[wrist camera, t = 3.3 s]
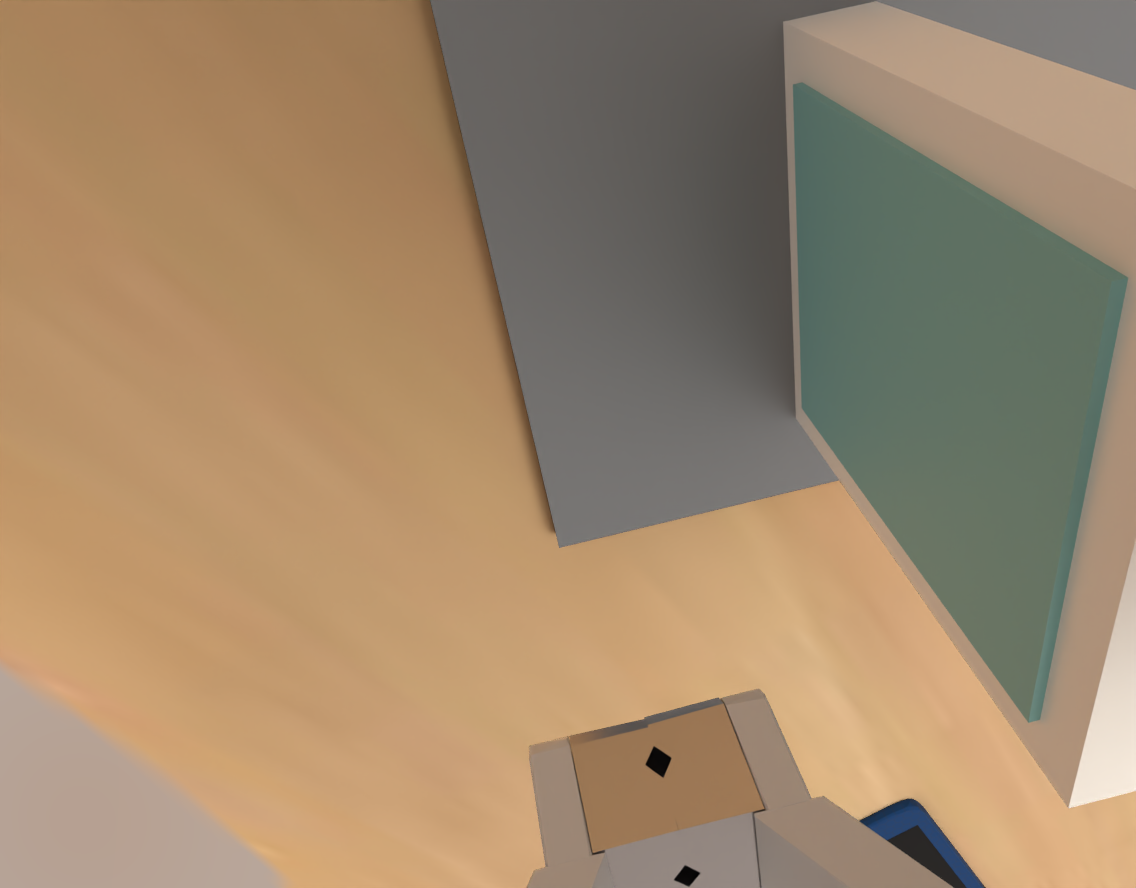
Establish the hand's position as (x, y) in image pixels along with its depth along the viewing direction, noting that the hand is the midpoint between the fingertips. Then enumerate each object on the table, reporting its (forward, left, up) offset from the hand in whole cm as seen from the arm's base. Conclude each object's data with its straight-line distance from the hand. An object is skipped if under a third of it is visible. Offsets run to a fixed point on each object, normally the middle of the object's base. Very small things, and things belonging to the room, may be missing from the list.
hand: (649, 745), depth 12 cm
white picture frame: (0, +8, -12) cm, 14 cm away
